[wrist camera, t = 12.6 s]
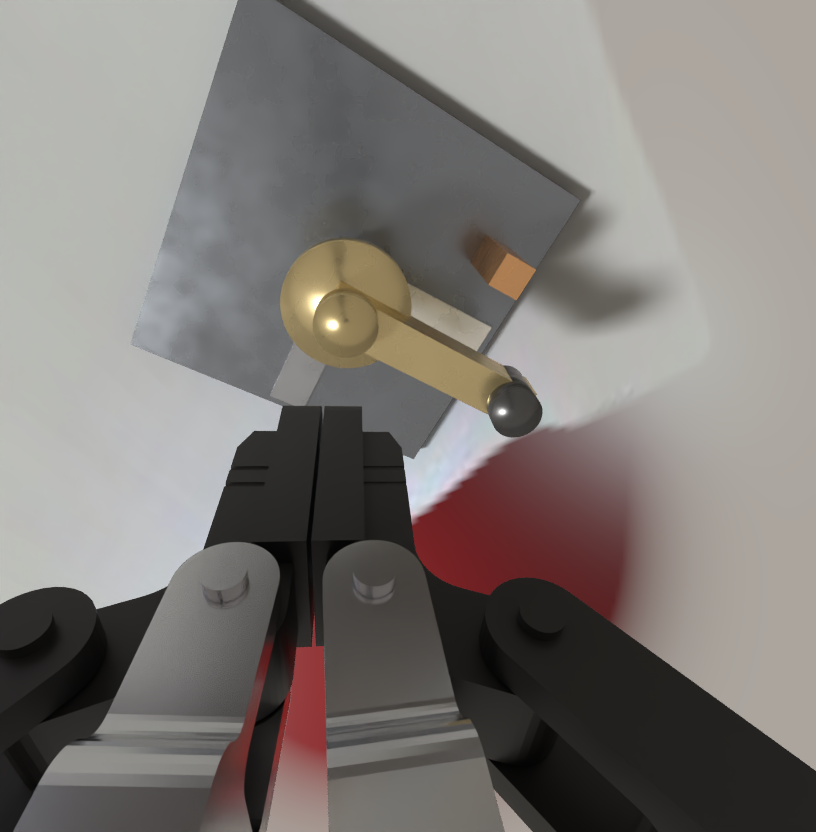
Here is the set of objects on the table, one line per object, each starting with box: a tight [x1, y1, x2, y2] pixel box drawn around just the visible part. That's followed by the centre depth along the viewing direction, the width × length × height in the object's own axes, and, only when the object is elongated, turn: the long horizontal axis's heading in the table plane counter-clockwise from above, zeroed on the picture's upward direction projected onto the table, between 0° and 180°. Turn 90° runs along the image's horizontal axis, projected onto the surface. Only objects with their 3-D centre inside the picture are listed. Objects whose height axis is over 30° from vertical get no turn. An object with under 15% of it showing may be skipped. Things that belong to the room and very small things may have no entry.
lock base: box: [131, 0, 580, 459], centre depth 32 cm, size 22×22×7 cm
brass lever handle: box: [280, 237, 542, 437], centre depth 28 cm, size 15×7×4 cm, turn 60°
